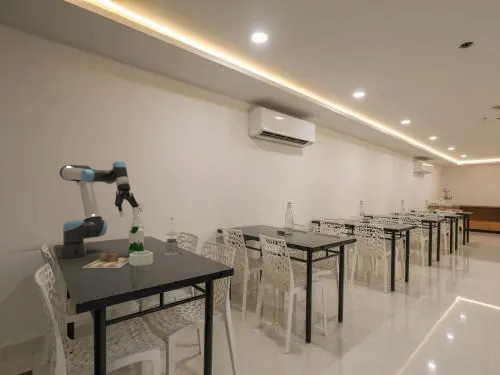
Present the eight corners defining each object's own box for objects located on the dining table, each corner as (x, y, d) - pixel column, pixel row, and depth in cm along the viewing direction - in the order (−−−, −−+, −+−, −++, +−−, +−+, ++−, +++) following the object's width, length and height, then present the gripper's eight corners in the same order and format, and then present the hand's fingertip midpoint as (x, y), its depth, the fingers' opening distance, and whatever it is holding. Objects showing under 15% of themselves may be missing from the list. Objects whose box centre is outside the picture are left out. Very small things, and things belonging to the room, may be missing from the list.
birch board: (86, 266, 168) (86, 257, 168) (100, 259, 186) (101, 250, 186) (118, 266, 168) (118, 257, 168) (129, 259, 186) (129, 250, 186)
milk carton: (126, 257, 191) (126, 227, 191) (133, 254, 200) (133, 225, 200) (139, 258, 190) (139, 227, 190) (145, 255, 199) (146, 225, 199)
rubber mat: (82, 268, 166) (82, 267, 166) (99, 259, 187) (99, 258, 187) (119, 268, 167) (119, 267, 167) (133, 259, 188) (133, 258, 188)
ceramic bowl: (126, 266, 171) (126, 256, 171) (134, 260, 184) (134, 251, 184) (148, 266, 171) (148, 256, 171) (155, 260, 184) (155, 251, 184)
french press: (166, 251, 210) (167, 216, 210) (183, 252, 210) (183, 217, 210) (162, 254, 200) (162, 218, 200) (179, 255, 200) (179, 218, 200)
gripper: (115, 179, 173) (121, 214, 169) (139, 186, 197) (146, 216, 193) (104, 183, 174) (110, 218, 170) (130, 189, 198) (136, 219, 194)
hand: (129, 217), depth 181 cm, fingers open, 13 cm apart
